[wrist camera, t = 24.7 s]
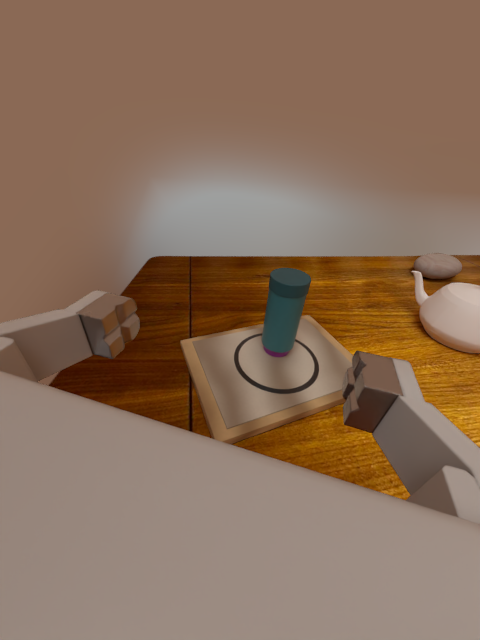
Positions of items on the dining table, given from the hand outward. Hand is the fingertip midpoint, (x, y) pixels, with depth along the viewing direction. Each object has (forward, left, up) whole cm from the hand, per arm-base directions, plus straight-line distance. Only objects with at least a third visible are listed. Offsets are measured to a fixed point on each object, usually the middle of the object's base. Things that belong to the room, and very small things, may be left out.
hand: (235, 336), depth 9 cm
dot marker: (+13, +15, -18) cm, 27 cm away
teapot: (+45, +11, -19) cm, 50 cm away
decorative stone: (+66, +29, -19) cm, 75 cm away
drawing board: (+12, +14, -19) cm, 27 cm away
